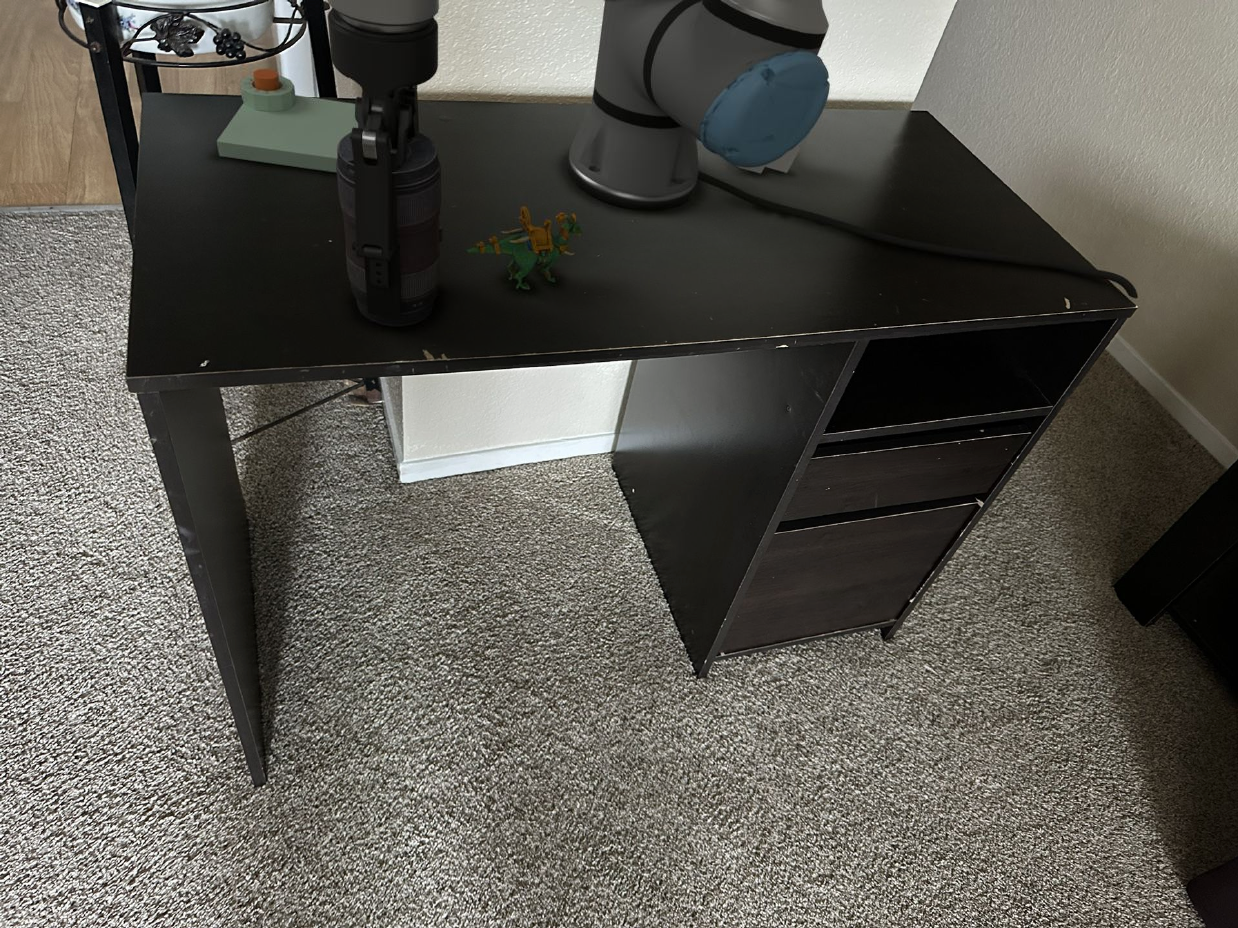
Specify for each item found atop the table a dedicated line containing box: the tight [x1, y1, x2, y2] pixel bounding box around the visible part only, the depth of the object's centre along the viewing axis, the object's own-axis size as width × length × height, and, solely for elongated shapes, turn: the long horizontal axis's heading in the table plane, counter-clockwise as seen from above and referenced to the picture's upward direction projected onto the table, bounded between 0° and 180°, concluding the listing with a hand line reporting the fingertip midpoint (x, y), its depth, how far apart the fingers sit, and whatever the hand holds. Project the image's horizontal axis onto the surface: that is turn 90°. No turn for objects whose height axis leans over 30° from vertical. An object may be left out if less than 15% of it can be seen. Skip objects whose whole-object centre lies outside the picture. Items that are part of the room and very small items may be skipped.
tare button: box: [252, 68, 280, 91], centre depth 96 cm, size 3×3×2 cm
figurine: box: [466, 205, 582, 290], centre depth 81 cm, size 3×12×8 cm, turn 122°
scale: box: [216, 74, 358, 174], centre depth 95 cm, size 14×13×4 cm
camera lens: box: [336, 131, 444, 327], centre depth 73 cm, size 8×8×15 cm
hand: (394, 283), depth 77 cm, fingers closed on camera lens, 8 cm apart
